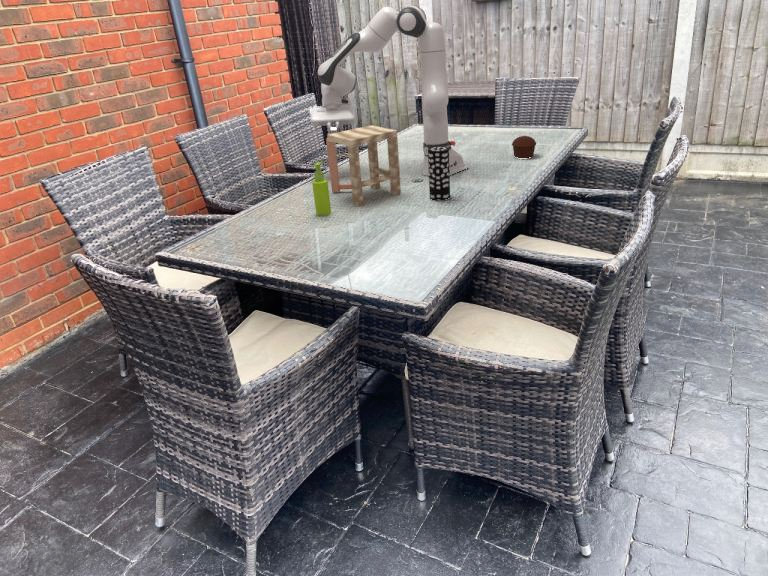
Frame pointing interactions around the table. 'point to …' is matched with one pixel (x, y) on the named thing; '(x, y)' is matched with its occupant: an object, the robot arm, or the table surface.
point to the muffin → (524, 147)
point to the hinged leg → (334, 168)
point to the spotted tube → (439, 173)
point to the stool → (370, 158)
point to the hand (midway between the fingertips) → (333, 131)
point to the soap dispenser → (321, 192)
